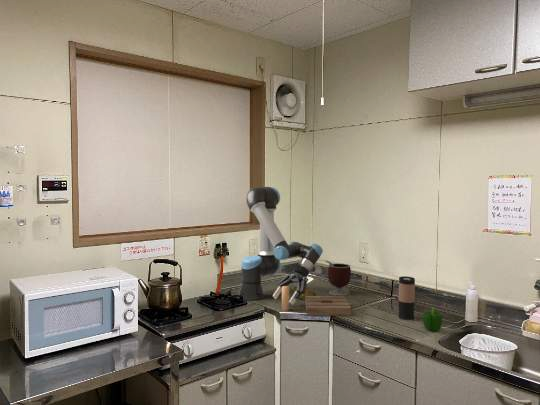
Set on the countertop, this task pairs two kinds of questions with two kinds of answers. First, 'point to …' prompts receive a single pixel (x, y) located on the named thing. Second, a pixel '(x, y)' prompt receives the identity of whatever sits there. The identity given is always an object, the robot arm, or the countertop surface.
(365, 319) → the countertop surface
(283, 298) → the peg
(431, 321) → the bell pepper
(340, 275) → the mate gourd
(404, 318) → the travel mug
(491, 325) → the countertop surface
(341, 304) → the hole block
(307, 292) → the potato
